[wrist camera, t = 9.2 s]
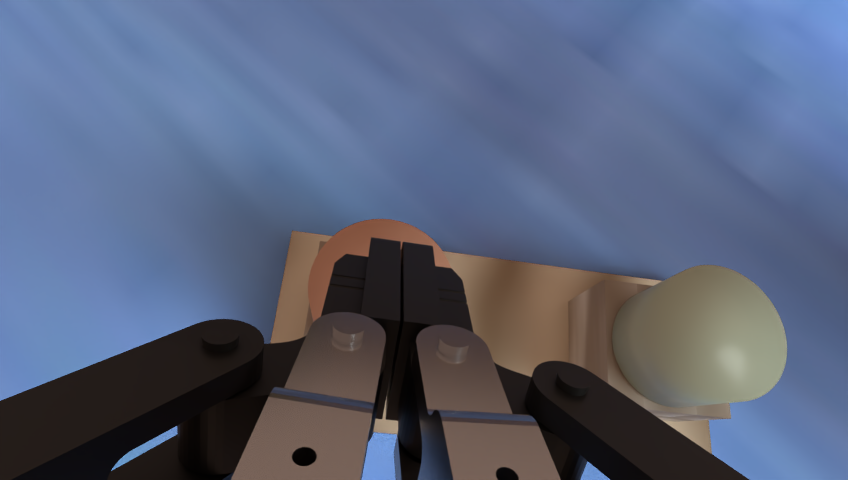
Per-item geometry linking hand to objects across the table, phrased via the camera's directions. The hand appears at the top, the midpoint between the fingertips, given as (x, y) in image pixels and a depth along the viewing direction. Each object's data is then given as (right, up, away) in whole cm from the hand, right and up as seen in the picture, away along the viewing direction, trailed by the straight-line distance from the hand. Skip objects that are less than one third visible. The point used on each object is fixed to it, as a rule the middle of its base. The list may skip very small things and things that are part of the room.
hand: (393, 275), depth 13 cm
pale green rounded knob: (+12, -5, +15) cm, 20 cm away
